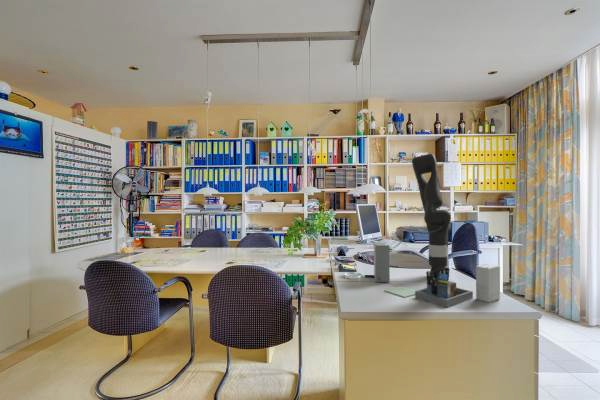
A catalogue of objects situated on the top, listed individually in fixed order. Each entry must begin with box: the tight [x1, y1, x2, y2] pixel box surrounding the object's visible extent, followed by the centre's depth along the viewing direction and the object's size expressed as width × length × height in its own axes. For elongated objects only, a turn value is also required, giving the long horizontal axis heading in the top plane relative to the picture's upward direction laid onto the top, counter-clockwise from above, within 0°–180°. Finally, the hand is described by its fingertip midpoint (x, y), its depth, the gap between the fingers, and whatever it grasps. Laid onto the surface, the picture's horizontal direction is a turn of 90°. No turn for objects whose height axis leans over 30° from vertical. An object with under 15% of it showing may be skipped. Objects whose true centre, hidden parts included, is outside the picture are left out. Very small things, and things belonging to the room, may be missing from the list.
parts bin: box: [414, 286, 474, 308], centre depth 131 cm, size 20×15×3 cm
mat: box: [383, 285, 417, 298], centre depth 140 cm, size 12×12×1 cm
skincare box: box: [475, 263, 501, 303], centre depth 129 cm, size 8×6×15 cm
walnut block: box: [449, 280, 457, 298], centre depth 135 cm, size 5×5×6 cm
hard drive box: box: [373, 241, 390, 283], centre depth 164 cm, size 16×8×20 cm, turn 168°
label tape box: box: [426, 273, 450, 299], centre depth 129 cm, size 9×4×12 cm, turn 47°
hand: (438, 292), depth 129 cm, fingers open, 5 cm apart
